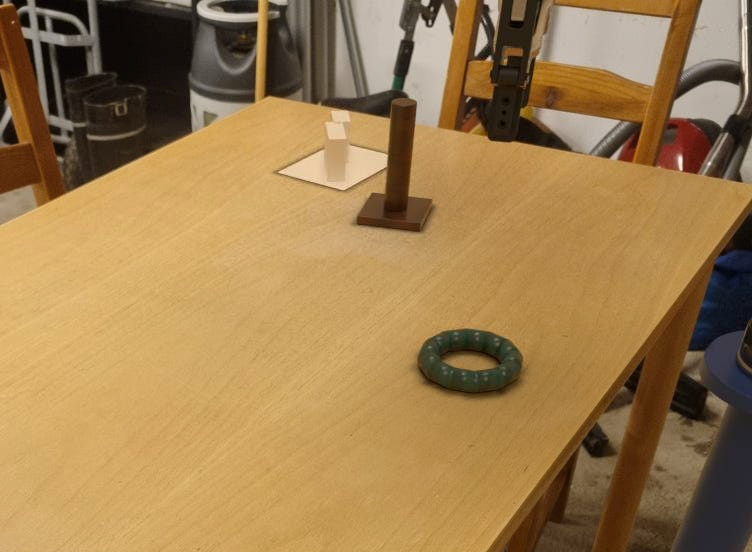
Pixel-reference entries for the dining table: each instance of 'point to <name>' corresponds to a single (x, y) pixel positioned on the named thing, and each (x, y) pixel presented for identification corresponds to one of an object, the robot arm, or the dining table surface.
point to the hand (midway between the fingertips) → (507, 122)
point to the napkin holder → (338, 158)
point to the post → (398, 177)
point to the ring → (463, 377)
